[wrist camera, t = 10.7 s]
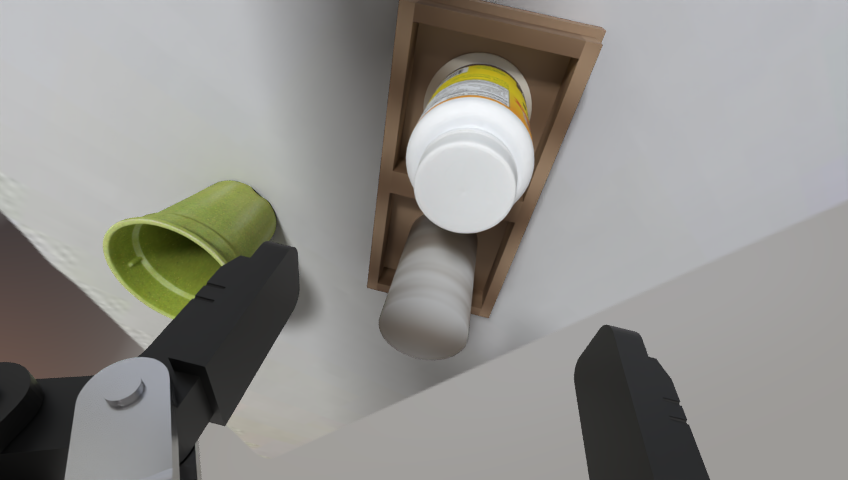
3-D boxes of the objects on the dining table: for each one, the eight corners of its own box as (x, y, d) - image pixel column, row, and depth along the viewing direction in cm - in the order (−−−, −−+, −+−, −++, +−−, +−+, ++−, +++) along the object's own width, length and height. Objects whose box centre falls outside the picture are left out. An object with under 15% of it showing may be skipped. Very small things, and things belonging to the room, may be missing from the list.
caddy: (405, -17, 21) (342, 1, 13) (601, 27, 21) (663, 73, 12) (372, 264, 34) (330, 362, 25) (493, 294, 33) (489, 403, 25)
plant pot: (170, 157, 30) (72, 215, 24) (279, 161, 29) (209, 225, 22) (213, 250, 36) (144, 319, 29) (307, 258, 34) (257, 333, 28)
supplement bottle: (509, 163, 24) (511, 264, 16) (425, 143, 25) (384, 233, 16) (541, 72, 21) (563, 141, 13) (442, 49, 21) (402, 103, 13)
